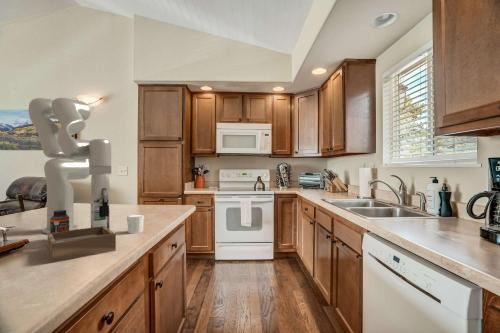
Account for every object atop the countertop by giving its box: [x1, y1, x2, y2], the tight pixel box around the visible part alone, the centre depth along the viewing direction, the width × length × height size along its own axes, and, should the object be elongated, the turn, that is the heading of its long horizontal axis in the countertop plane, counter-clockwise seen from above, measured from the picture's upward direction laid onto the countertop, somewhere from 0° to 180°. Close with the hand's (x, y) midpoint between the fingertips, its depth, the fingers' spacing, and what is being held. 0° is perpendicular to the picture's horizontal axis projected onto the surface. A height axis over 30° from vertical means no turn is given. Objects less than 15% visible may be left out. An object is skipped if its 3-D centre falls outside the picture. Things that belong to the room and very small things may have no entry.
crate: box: [47, 226, 117, 263], centre depth 88 cm, size 16×17×6 cm
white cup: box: [126, 213, 145, 234], centre depth 113 cm, size 7×7×7 cm
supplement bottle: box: [50, 210, 69, 233], centre depth 100 cm, size 6×6×11 cm
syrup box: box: [90, 201, 111, 230], centre depth 102 cm, size 6×6×14 cm
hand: (101, 215), depth 102 cm, fingers open, 9 cm apart
